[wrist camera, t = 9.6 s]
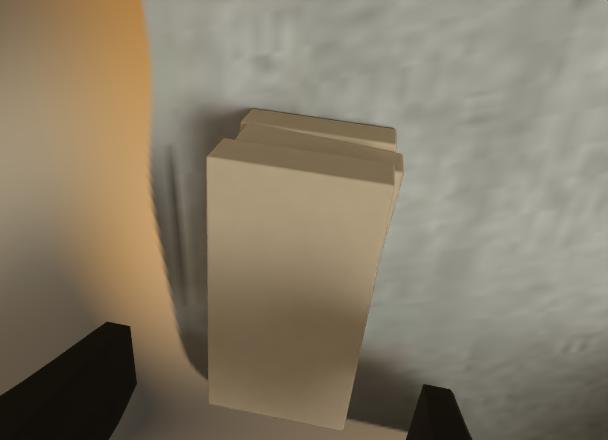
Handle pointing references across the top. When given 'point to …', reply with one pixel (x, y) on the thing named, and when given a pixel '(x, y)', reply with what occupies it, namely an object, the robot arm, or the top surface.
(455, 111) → the top surface
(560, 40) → the top surface
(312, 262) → the beige flat slab
